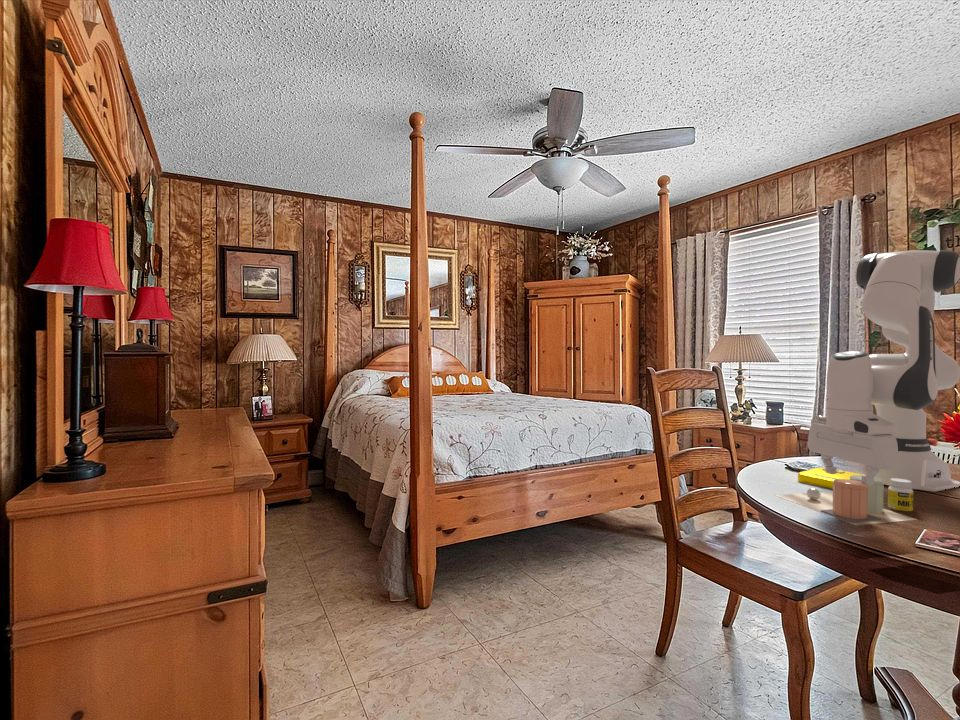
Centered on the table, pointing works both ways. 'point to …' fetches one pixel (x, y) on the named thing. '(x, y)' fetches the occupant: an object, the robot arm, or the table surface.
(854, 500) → the terracotta cup
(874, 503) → the sage cup
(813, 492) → the steel marble
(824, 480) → the element tile
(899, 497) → the supplement bottle
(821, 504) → the birch board
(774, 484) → the table surface
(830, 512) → the charcoal mat
